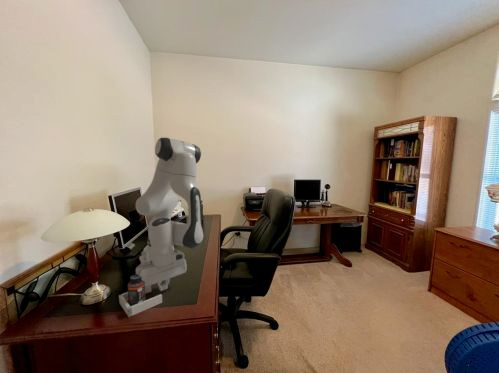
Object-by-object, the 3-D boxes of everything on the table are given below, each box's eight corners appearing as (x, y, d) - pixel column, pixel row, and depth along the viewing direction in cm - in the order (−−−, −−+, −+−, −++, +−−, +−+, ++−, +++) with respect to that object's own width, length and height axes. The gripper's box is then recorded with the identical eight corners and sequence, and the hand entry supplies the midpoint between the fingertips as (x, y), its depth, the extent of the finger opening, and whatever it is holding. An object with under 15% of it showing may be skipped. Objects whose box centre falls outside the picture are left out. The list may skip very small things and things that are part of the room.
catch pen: (119, 302, 86) (118, 295, 86) (150, 290, 94) (150, 283, 94) (128, 317, 78) (128, 309, 77) (162, 302, 86) (161, 295, 86)
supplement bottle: (145, 306, 83) (144, 278, 82) (127, 311, 81) (126, 281, 80) (146, 298, 89) (145, 271, 88) (129, 301, 86) (128, 274, 85)
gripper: (138, 268, 82) (139, 303, 83) (188, 253, 96) (188, 283, 97) (132, 262, 86) (134, 296, 87) (181, 249, 101) (182, 278, 102)
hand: (163, 289), depth 92 cm, fingers closed
